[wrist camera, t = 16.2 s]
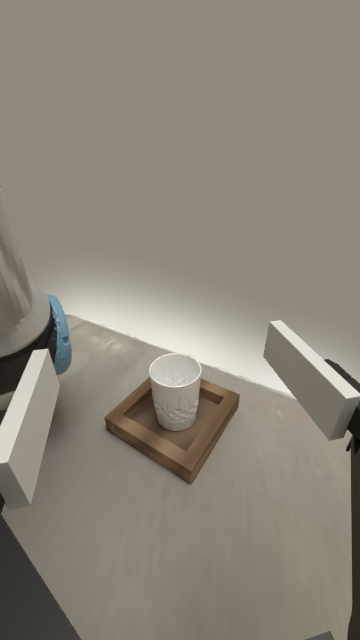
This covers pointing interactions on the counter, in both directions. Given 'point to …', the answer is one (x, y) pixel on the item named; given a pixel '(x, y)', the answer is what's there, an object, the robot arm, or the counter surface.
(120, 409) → the wooden tray
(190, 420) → the white cup
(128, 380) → the counter surface
